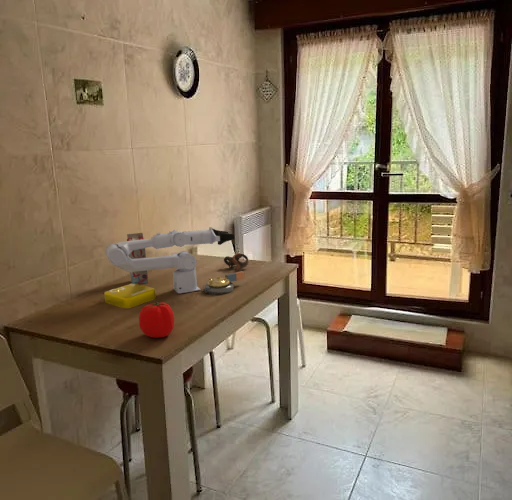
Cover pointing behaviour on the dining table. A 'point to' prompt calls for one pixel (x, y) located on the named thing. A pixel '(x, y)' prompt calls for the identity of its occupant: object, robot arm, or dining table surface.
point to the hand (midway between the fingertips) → (230, 235)
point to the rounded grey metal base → (218, 289)
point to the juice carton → (137, 276)
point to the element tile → (129, 295)
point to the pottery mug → (236, 261)
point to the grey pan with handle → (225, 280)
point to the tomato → (156, 320)
